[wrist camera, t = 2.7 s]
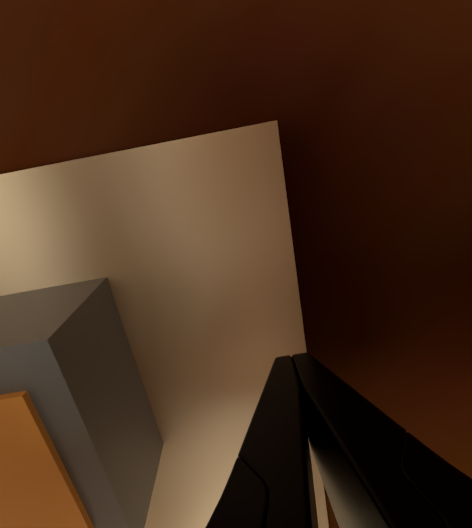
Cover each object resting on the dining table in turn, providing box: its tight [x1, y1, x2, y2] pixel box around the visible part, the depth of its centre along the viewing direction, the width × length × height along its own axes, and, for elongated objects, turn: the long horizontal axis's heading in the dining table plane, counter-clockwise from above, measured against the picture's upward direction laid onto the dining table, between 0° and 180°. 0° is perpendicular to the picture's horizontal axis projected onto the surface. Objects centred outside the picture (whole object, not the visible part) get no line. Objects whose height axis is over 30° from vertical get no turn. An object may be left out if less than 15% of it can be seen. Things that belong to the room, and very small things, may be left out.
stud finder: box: [0, 277, 164, 528], centre depth 8 cm, size 4×6×3 cm, turn 10°
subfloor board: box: [0, 120, 329, 528], centre depth 12 cm, size 20×23×1 cm
